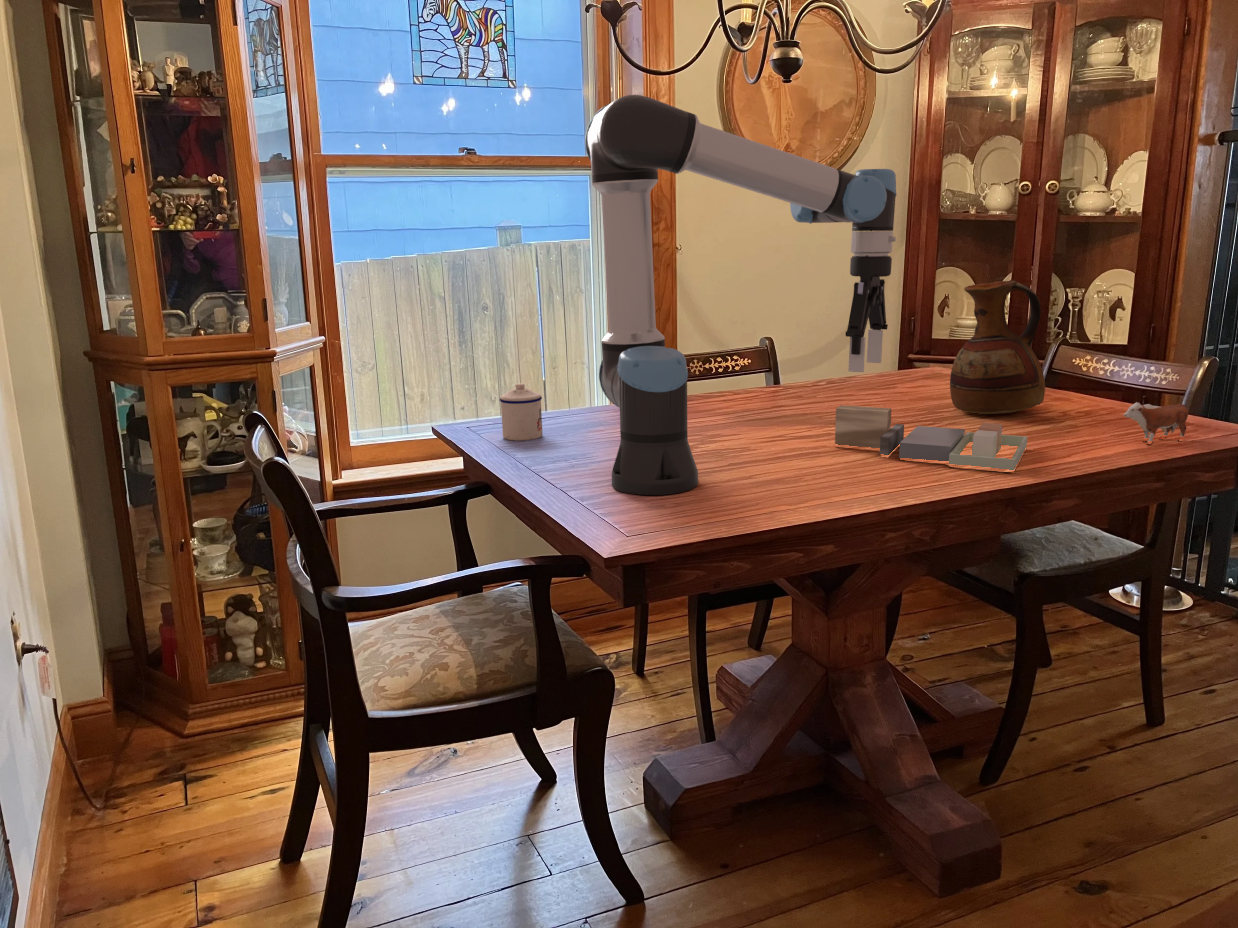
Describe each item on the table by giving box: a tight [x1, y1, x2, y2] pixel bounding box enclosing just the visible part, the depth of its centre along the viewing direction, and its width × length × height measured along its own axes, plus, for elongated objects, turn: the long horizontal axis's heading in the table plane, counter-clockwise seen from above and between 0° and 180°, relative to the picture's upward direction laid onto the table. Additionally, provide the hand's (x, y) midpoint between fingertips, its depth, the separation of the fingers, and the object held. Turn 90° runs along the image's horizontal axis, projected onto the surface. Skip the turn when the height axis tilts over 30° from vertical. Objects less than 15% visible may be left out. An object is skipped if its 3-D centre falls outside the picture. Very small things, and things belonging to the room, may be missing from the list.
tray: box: [949, 431, 1028, 470], centre depth 177 cm, size 20×11×2 cm, turn 152°
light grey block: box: [972, 429, 998, 457], centre depth 174 cm, size 5×5×4 cm
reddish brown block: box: [978, 422, 1003, 454], centre depth 180 cm, size 5×5×4 cm
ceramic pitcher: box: [949, 279, 1046, 415], centre depth 214 cm, size 20×20×30 cm
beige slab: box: [834, 405, 905, 455], centre depth 187 cm, size 13×12×8 cm
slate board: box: [898, 425, 966, 461], centre depth 181 cm, size 16×9×4 cm, turn 152°
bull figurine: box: [1123, 401, 1189, 442], centre depth 185 cm, size 4×13×8 cm, turn 102°
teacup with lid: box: [499, 382, 543, 442], centre depth 207 cm, size 12×9×12 cm
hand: (865, 367), depth 184 cm, fingers open, 13 cm apart
